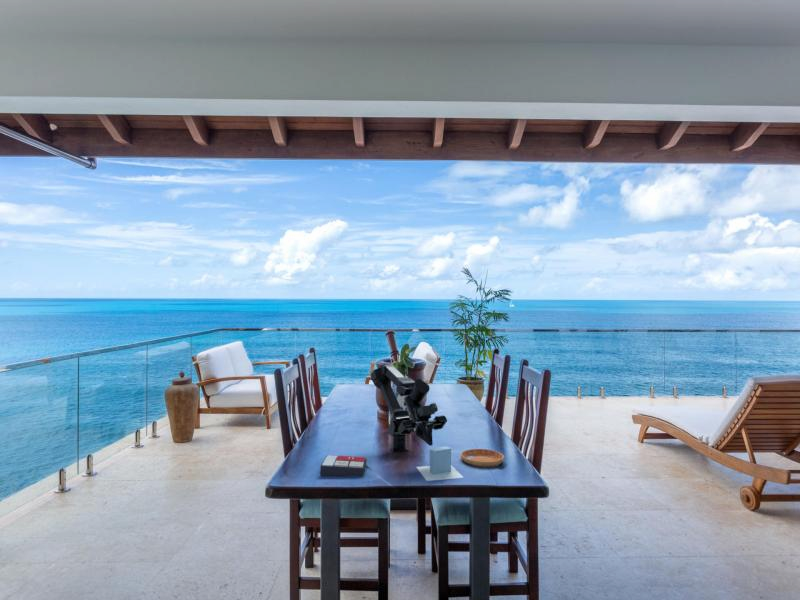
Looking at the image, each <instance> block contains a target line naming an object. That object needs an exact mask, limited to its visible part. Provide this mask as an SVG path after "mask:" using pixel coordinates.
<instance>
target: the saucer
mask: <svg viewBox="0 0 800 600" xmlns="http://www.w3.org/2000/svg"><path fill="white" fill-rule="evenodd" d="M460 457H461V459H462V461H463V462H464V463H466V464H467V465H471V466H475V467H482V468H483V467H484V468H487V467H488V468H489V467H494V468H496V467H498V466H499V465H500V464H502V463H503V461H504V459H505V456H504V454H503V453H501V452H499V451H496V450H492V449H487V448H471V449H466V450H464V451H462V452H461V453H460ZM470 457H471V458H470Z"/></svg>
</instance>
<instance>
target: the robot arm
mask: <svg viewBox="0 0 800 600" xmlns="http://www.w3.org/2000/svg"><path fill="white" fill-rule="evenodd" d="M370 380H371V381H372V383H373V385H374V386H375V387H376V388H378V389H379V390H380V392H381V394H382V397H383V399H384V402H385V404H386V406H387V410H388V411H389V413H390V415H391V416H390V419H389V425H388V427H387V429H386V430H387V431H386V432H387V434H388V435H389V436H391V437H392V441H391V442H392V445H390V449H391V451H392V452H394V453H395V452H408V451H409V448H408V446H407V435H412V431H413V435H414V436H417V437H419V438H420V439H421V440H422V441H423V442H425V443H426V444H427V445H428V446H430V447H431V446H433V444H434V443H433V430H434V431H436V430H441V429H443V428H444V426H445V425H446V423H447V422H448V418H447V417H446V415H443V414H442V415H435V414H436V412H438V411H439V408H438V405H437V404H436V403H435V402H432V403H430V404H429V405H428V404H427V405H423V403H422V402H423V401H424V400H425V398H426V397H427V395H428V393H429V392H430V390H431V389H430V385H429V384H428V383H427V382H425V381H424V380H422V379H421V378H416V379H415V380H414V379H412V378H408V377H406V376H405V375H403V374H402V372H400V371H399V370H398V369H397V368H396V367H395V365H394V364H391V363H390V364H383V365H381V366H380V367H377V368H376V369H374V370H372V372H371V373H370ZM391 383H393V384H394V385H395V386H396V392H397V394H398V395H399V396H400V397H405V398H404V401H403V406H404V407H407V409H405V410H404V409H402V407H401V405H400V403H399V401H398V399H397V396H396V393H395V392H394V390H393V387H392V385H391ZM432 415H435V416H434V418H433V420H429V419H431V418H432Z"/></svg>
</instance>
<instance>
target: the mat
mask: <svg viewBox="0 0 800 600" xmlns="http://www.w3.org/2000/svg"><path fill="white" fill-rule="evenodd" d="M416 469H417V470H418V471H419V472H420V474H421V476H422V477H423V478H424V479H425V481H426V482H429V481H440V480H441V481H443V480H452V479H455V480H456V479H463V478H464V476H463V475H462V474H461V473H460V472H459V471H458V470H457V469H456V468H455V467H454V466H453V465H452V464H451V472H446V473H441V474H436V475H434V474H432V473H430V465H428V466H427V465H425V466H423V465H422V466H416Z"/></svg>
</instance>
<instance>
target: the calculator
mask: <svg viewBox="0 0 800 600" xmlns="http://www.w3.org/2000/svg"><path fill="white" fill-rule="evenodd" d="M367 461H368V460H367V458H366V457H365V456H351V455H350V456H349V455H326V456H325V458H324V459H323V462H322V463H321V464H320V467H319V469H320V471H319V475H321V476H320V477H334V476H338V477H364V476H365V475H364V474H365V472H366V469H367ZM365 468H366V469H365Z"/></svg>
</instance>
